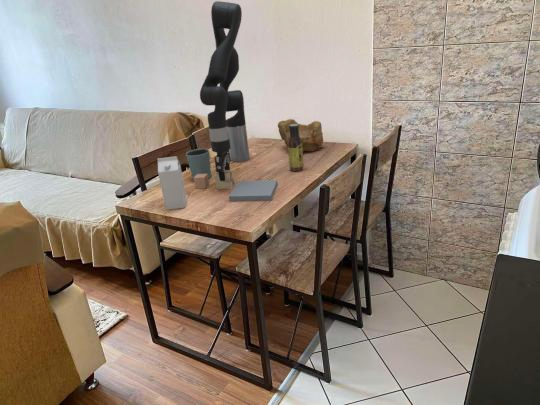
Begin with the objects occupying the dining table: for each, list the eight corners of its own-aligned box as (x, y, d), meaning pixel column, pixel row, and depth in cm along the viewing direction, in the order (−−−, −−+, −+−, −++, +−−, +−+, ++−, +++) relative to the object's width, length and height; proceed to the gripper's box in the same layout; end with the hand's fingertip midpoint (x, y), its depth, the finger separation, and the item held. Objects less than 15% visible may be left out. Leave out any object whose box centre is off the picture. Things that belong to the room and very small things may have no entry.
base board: (239, 185, 166) (238, 181, 165) (277, 184, 163) (277, 180, 162) (229, 201, 151) (228, 196, 151) (271, 200, 148) (270, 195, 148)
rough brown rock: (271, 156, 202) (269, 127, 195) (282, 144, 216) (280, 117, 209) (316, 159, 194) (315, 129, 187) (324, 146, 208) (324, 118, 201)
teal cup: (217, 174, 181) (213, 149, 176) (204, 182, 173) (199, 156, 168) (199, 173, 186) (195, 148, 181) (185, 180, 178) (180, 154, 173)
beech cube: (220, 183, 170) (218, 170, 168) (234, 183, 169) (232, 170, 167) (216, 189, 165) (214, 175, 162) (230, 188, 164) (228, 174, 161)
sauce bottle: (302, 171, 174) (300, 126, 167) (288, 172, 176) (285, 127, 168) (304, 166, 180) (302, 122, 172) (290, 167, 182) (287, 123, 174)
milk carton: (168, 202, 156) (158, 155, 148) (187, 200, 156) (178, 153, 148) (166, 210, 149) (155, 161, 142) (185, 208, 149) (175, 159, 142)
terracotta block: (199, 184, 171) (197, 173, 169) (209, 184, 170) (207, 173, 168) (195, 189, 167) (193, 177, 165) (206, 188, 166) (204, 177, 164)
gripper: (224, 142, 152) (230, 182, 158) (233, 133, 165) (238, 171, 171) (205, 143, 153) (211, 183, 159) (215, 134, 166) (221, 171, 172)
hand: (225, 177), depth 165 cm, fingers open, 8 cm apart
